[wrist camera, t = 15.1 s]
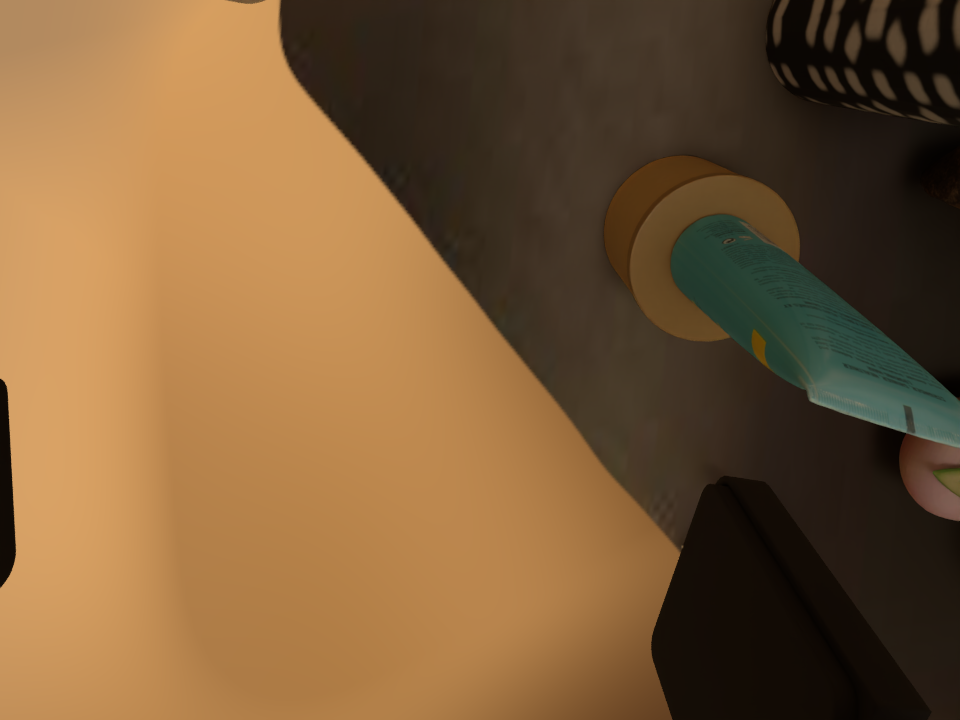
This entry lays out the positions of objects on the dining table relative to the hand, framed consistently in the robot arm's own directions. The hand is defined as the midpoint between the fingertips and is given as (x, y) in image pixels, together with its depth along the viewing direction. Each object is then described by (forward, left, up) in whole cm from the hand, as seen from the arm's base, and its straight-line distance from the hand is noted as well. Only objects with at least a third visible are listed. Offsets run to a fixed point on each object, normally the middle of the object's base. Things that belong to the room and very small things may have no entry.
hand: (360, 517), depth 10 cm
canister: (+16, -2, -38) cm, 42 cm away
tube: (+16, -2, -31) cm, 34 cm away
